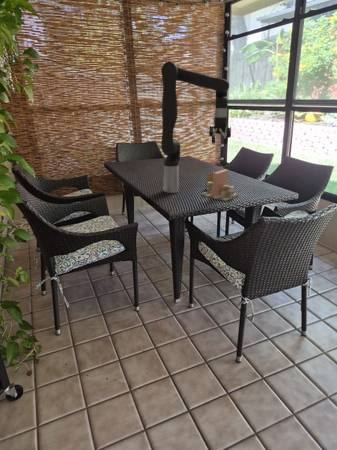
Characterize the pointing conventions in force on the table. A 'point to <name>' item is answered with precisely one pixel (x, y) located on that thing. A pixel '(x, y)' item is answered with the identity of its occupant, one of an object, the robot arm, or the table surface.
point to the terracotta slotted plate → (219, 181)
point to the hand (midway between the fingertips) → (219, 144)
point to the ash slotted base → (224, 194)
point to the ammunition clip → (209, 177)
